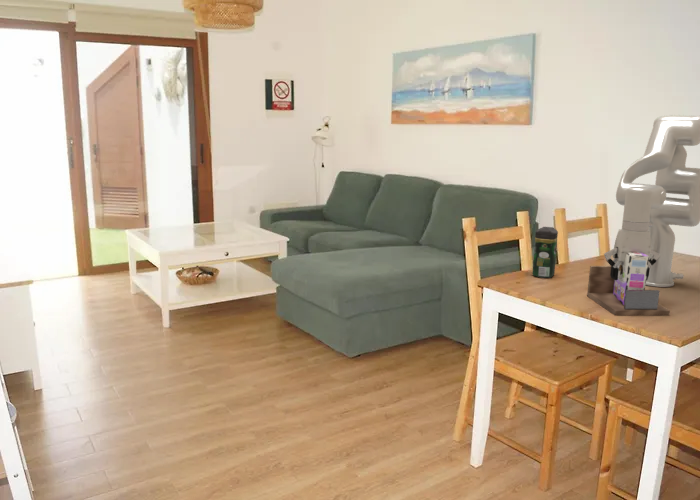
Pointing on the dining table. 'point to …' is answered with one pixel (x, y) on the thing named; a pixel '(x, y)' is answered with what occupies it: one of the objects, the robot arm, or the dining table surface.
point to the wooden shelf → (603, 294)
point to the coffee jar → (545, 252)
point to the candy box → (631, 274)
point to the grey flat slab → (641, 299)
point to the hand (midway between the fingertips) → (629, 279)
